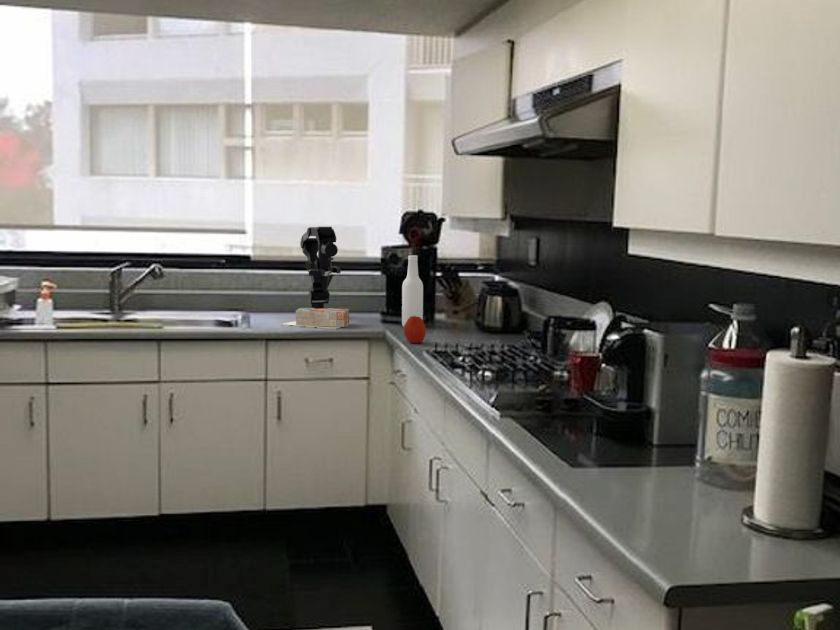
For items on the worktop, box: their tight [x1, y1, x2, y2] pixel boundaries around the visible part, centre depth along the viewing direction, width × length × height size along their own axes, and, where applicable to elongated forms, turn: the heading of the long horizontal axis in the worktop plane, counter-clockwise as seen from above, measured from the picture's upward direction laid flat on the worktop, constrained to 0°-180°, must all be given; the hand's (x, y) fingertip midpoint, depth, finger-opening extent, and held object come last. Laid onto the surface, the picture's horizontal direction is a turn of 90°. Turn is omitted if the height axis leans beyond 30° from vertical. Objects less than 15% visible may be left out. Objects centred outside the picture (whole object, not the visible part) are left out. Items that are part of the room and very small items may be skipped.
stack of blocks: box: [295, 307, 350, 328], centre depth 385 cm, size 21×6×12 cm
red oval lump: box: [402, 316, 426, 344], centre depth 342 cm, size 8×8×11 cm
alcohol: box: [401, 254, 424, 328], centre depth 383 cm, size 9×9×30 cm
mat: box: [282, 320, 349, 330], centre depth 385 cm, size 12×26×1 cm, turn 67°
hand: (324, 290), depth 400 cm, fingers closed
